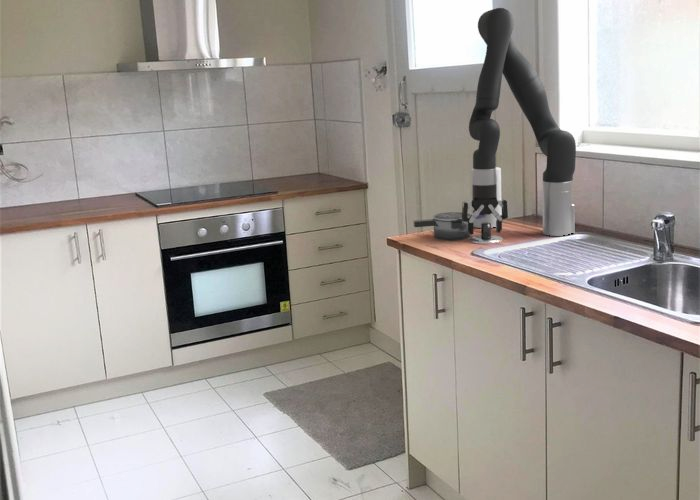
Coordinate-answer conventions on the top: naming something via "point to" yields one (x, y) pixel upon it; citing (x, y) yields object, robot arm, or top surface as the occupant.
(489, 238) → the lid
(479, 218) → the container
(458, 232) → the pot
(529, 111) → the robot arm
